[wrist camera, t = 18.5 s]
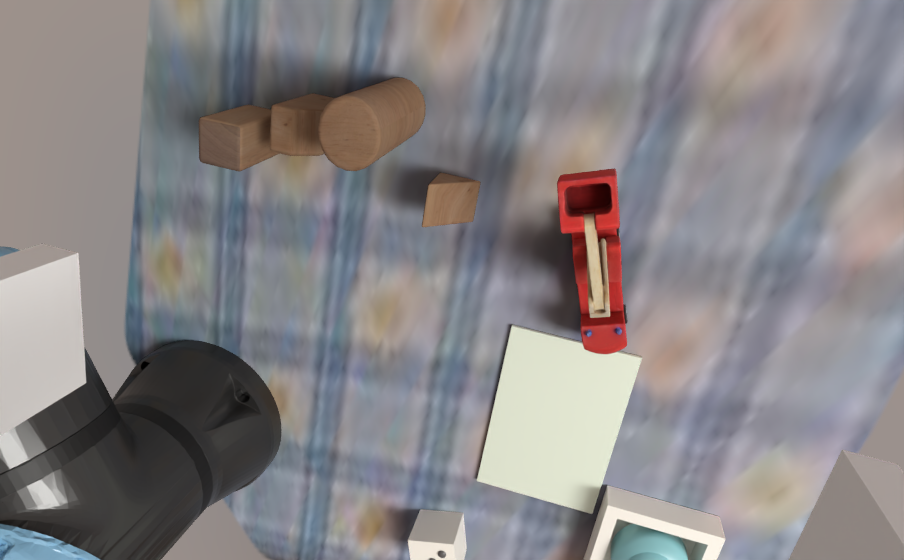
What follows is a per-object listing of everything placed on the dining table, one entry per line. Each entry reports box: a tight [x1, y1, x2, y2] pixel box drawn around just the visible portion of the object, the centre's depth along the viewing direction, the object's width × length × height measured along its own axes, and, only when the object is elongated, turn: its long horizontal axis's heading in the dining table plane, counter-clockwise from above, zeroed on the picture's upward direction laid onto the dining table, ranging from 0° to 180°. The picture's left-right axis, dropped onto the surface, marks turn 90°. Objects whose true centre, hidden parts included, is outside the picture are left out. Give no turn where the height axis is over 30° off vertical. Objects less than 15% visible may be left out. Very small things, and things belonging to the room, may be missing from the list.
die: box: [408, 509, 467, 560], centre depth 53 cm, size 4×4×4 cm
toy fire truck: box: [557, 169, 627, 354], centre depth 39 cm, size 3×14×10 cm, turn 10°
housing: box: [583, 485, 725, 560], centre depth 50 cm, size 9×9×2 cm
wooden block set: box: [199, 78, 480, 227], centre depth 40 cm, size 18×9×10 cm, turn 79°
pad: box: [477, 325, 642, 514], centre depth 49 cm, size 10×15×1 cm, turn 170°
